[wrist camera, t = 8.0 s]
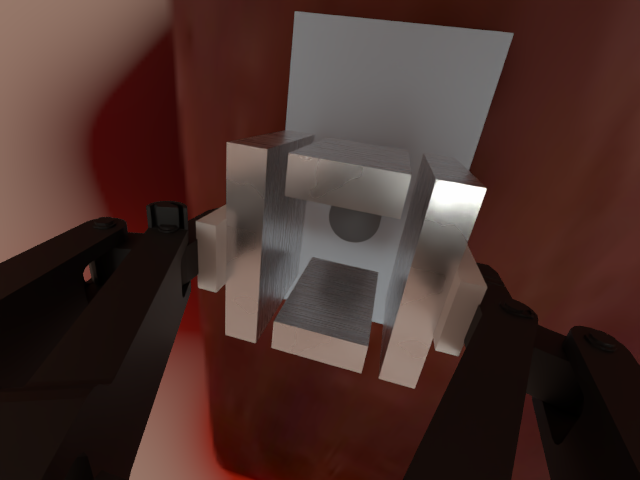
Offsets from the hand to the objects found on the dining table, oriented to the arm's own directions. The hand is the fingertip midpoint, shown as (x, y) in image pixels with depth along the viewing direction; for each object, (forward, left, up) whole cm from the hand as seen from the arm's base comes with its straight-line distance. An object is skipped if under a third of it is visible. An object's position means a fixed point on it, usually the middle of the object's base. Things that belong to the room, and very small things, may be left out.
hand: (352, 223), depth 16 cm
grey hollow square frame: (0, 0, 0) cm, 0 cm away
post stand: (0, 0, -7) cm, 7 cm away
